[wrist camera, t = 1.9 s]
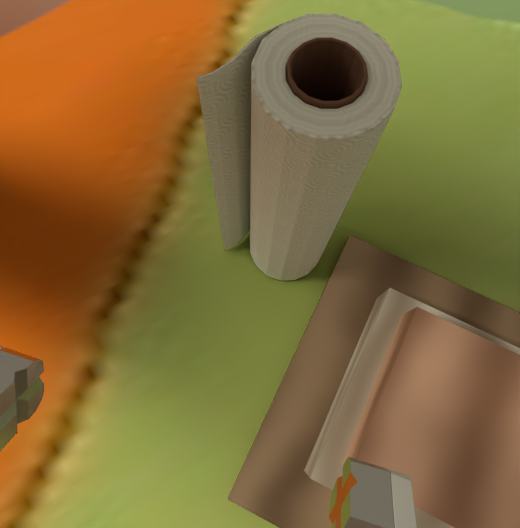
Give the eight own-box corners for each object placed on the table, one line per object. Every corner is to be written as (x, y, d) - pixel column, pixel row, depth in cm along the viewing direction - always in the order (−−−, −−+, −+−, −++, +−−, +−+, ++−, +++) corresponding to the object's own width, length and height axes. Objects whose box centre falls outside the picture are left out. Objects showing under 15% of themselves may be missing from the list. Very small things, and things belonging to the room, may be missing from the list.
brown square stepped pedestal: (228, 496, 32) (223, 523, 25) (347, 239, 38) (370, 201, 31) (522, 656, 30) (608, 735, 23) (600, 355, 36) (688, 343, 29)
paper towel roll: (333, 237, 39) (430, 50, 18) (297, 295, 37) (358, 164, 17) (262, 195, 40) (276, -27, 19) (223, 250, 38) (195, 73, 17)
